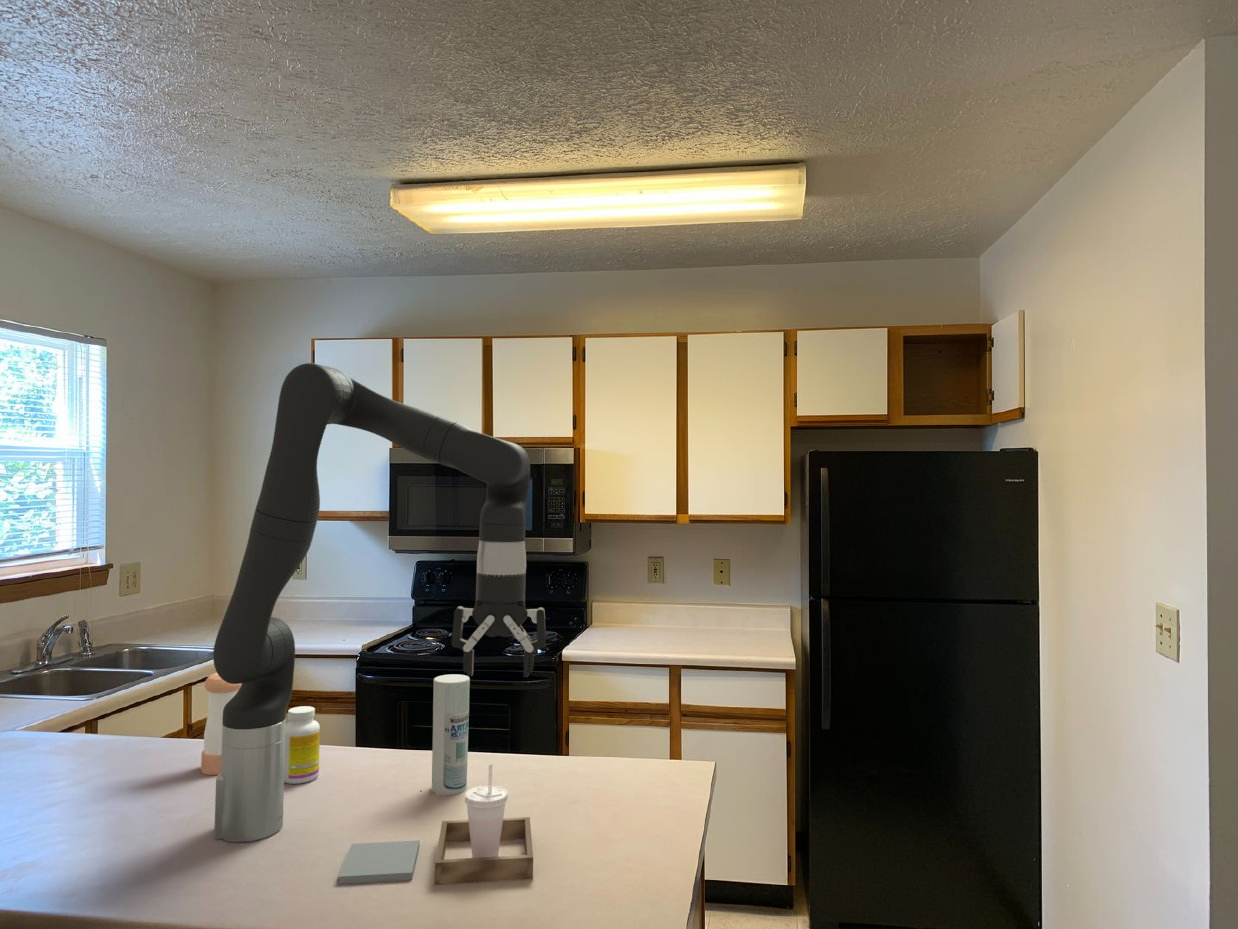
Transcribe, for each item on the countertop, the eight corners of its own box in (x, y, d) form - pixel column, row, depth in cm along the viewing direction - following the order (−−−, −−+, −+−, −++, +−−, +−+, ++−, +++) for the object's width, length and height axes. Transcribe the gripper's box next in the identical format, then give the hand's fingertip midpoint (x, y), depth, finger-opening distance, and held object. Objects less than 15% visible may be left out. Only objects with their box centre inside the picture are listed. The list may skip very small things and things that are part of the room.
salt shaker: (231, 775, 147) (234, 673, 147) (193, 775, 147) (196, 672, 147) (250, 762, 154) (253, 664, 154) (213, 761, 154) (216, 664, 155)
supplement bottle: (326, 777, 147) (328, 708, 147) (295, 788, 141) (297, 716, 142) (304, 769, 150) (306, 702, 151) (272, 780, 145) (274, 710, 145)
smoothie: (497, 871, 112) (499, 773, 112) (456, 866, 113) (458, 769, 113) (512, 851, 118) (514, 758, 118) (473, 847, 119) (475, 754, 120)
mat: (337, 884, 107) (338, 876, 108) (351, 850, 117) (351, 843, 117) (412, 879, 109) (412, 872, 109) (419, 847, 119) (419, 840, 119)
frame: (434, 884, 108) (434, 863, 108) (441, 840, 121) (442, 821, 121) (532, 879, 110) (533, 857, 110) (529, 836, 123) (529, 817, 123)
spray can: (450, 779, 147) (452, 672, 147) (474, 787, 143) (477, 677, 143) (423, 789, 141) (426, 679, 142) (448, 798, 138) (450, 684, 138)
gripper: (451, 572, 116) (448, 681, 116) (546, 573, 117) (544, 682, 117) (458, 566, 124) (455, 669, 123) (548, 568, 124) (545, 670, 124)
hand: (498, 675), depth 120 cm, fingers open, 8 cm apart
